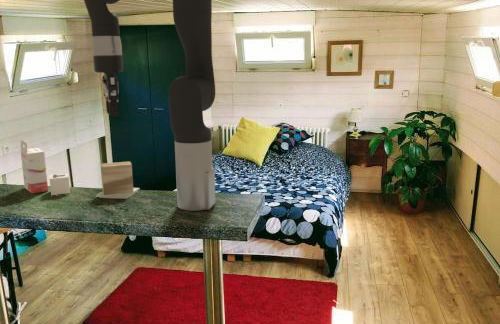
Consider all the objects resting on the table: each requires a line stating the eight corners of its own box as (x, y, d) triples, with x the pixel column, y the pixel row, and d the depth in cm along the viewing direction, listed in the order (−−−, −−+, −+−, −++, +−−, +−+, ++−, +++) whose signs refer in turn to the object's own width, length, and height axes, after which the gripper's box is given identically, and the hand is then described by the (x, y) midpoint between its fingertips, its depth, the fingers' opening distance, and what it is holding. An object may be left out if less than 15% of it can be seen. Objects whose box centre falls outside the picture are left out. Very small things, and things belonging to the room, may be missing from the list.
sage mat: (139, 189, 142) (139, 187, 142) (126, 198, 133) (126, 196, 133) (110, 188, 143) (110, 186, 143) (95, 197, 135) (95, 195, 135)
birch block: (133, 191, 138) (131, 164, 136) (104, 195, 135) (101, 166, 133) (131, 188, 141) (129, 161, 140) (102, 191, 139) (100, 163, 137)
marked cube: (70, 194, 139) (68, 176, 137) (51, 196, 137) (49, 178, 136) (69, 189, 143) (68, 172, 142) (51, 191, 141) (49, 174, 140)
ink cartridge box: (49, 191, 142) (44, 141, 138) (31, 194, 139) (25, 143, 135) (41, 185, 148) (36, 137, 145) (24, 187, 145) (18, 139, 142)
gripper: (125, 53, 125) (130, 116, 128) (118, 54, 138) (123, 111, 141) (94, 54, 122) (100, 118, 126) (91, 54, 135) (96, 113, 139)
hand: (112, 114), depth 133 cm, fingers open, 8 cm apart
